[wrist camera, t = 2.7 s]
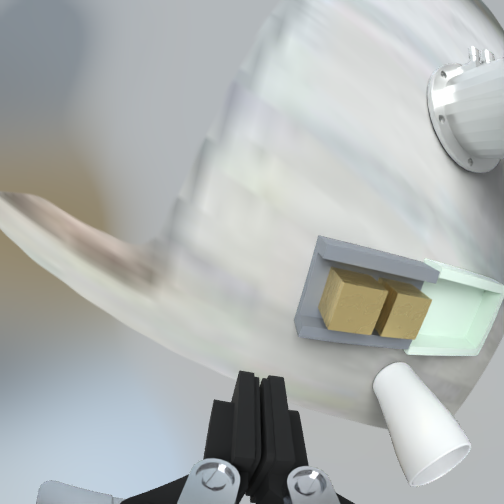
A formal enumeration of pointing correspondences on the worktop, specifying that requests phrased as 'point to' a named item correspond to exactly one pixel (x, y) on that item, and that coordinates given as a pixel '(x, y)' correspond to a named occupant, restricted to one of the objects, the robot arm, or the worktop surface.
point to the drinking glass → (419, 425)
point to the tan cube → (402, 310)
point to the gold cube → (351, 301)
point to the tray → (457, 312)
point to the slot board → (362, 262)
